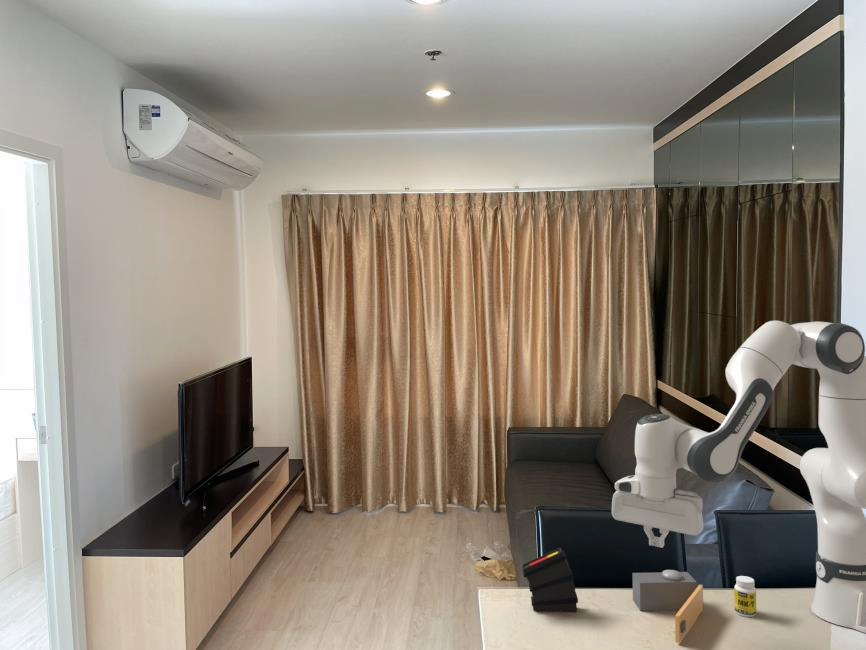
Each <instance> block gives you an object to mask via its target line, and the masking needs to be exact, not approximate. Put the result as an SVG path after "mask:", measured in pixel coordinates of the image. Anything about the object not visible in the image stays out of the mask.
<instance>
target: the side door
mask: <svg viewBox="0 0 866 650" xmlns="http://www.w3.org/2000/svg"><path fill="white" fill-rule="evenodd" d="M703 586H704V585H703V584H700V583H699V584H698V585H697V588H696V589H695V591H694V592H693V593H692V595H691V596H690V597H689V599H688V600H687V601H686V602H685V604H684V605H683V606H682V608H681V609H680V610H677V613H676V614H675V616H674V619H675V620H674V622H675V623H674V624H675V627H674V628H675V631H674V632H675V634H674V635H675V639H674V640H675V643H677V644H680V643H681V642H682V640H683V639H684V638H685V636H686V635H687V633H688V631H689V630H690V628H691V627H692V626H693V624H694V623H695V622H696V620H697V619H698V618H699V616H700V614H701V613H702V612H703V611H704V591H703V590H704V587H703Z"/></svg>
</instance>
